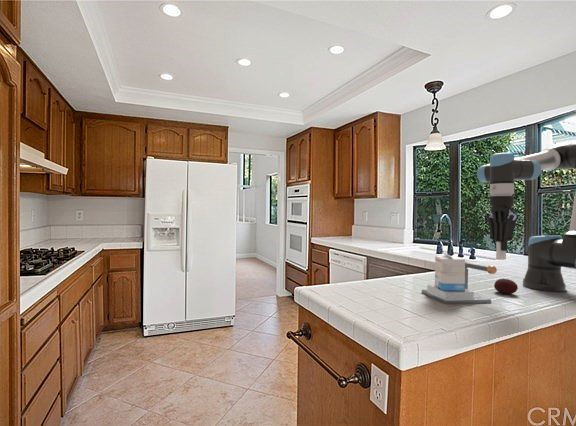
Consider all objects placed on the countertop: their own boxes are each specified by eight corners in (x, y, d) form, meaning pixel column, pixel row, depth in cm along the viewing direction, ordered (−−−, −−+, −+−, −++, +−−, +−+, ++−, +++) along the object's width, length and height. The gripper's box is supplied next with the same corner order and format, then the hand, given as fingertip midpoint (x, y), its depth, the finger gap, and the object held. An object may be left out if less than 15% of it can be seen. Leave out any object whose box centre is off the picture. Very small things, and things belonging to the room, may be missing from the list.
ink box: (465, 291, 121) (466, 254, 121) (441, 290, 122) (442, 254, 122) (456, 286, 130) (457, 251, 129) (434, 285, 131) (434, 251, 130)
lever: (499, 274, 122) (499, 265, 122) (492, 275, 120) (492, 266, 120) (461, 267, 136) (461, 259, 136) (455, 267, 135) (455, 259, 135)
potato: (504, 296, 131) (505, 281, 131) (489, 291, 139) (489, 277, 139) (521, 296, 132) (521, 281, 132) (504, 290, 140) (505, 276, 140)
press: (462, 291, 138) (463, 266, 137) (491, 302, 122) (491, 274, 122) (421, 292, 135) (422, 266, 135) (445, 304, 119) (446, 274, 119)
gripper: (479, 196, 129) (479, 256, 129) (506, 195, 116) (505, 262, 116) (497, 196, 130) (496, 256, 130) (525, 194, 117) (524, 261, 117)
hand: (501, 259), depth 123 cm, fingers closed
